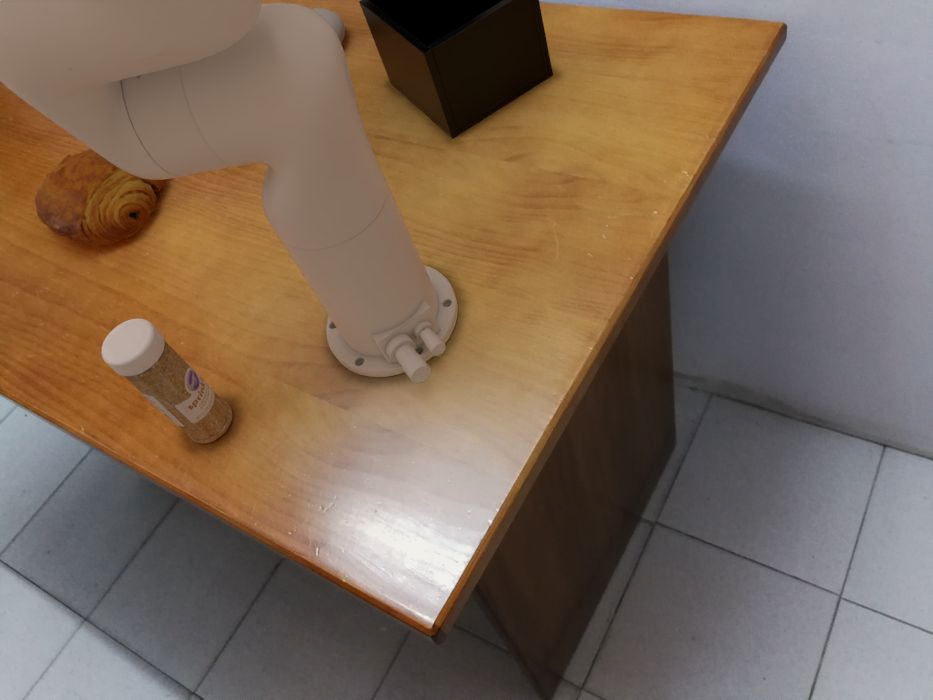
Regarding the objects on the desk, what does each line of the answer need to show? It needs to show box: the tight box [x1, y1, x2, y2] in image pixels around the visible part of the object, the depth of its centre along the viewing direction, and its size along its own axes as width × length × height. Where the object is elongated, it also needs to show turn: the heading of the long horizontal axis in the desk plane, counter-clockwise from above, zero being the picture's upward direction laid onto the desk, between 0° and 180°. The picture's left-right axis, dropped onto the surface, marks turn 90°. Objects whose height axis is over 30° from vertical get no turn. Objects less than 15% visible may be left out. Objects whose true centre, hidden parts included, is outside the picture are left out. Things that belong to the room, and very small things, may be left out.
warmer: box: [358, 0, 554, 139], centre depth 88 cm, size 15×14×11 cm
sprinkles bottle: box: [100, 318, 233, 444], centre depth 67 cm, size 5×5×14 cm
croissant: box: [34, 148, 166, 246], centre depth 93 cm, size 14×16×8 cm
